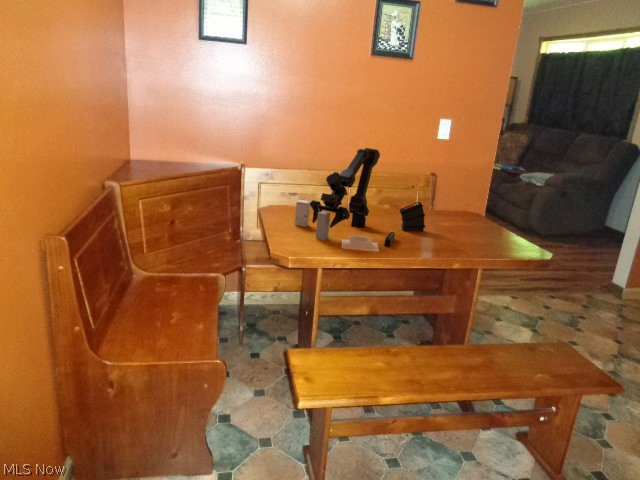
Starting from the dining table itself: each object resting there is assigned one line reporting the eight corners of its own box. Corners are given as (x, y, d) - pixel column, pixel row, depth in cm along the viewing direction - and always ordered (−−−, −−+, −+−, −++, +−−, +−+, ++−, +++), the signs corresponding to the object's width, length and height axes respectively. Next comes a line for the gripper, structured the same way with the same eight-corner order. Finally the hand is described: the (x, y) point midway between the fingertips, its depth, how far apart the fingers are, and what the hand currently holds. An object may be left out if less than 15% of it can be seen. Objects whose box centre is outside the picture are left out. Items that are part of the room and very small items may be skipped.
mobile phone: (391, 239, 203) (396, 230, 216) (384, 238, 204) (389, 229, 217) (389, 250, 204) (394, 240, 218) (383, 249, 205) (388, 239, 219)
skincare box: (294, 225, 228) (295, 201, 224) (297, 223, 232) (298, 199, 228) (305, 227, 226) (307, 203, 222) (308, 224, 230) (310, 201, 226)
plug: (315, 240, 208) (317, 212, 204) (320, 238, 211) (322, 211, 207) (323, 242, 206) (325, 214, 202) (327, 240, 209) (330, 212, 205)
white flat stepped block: (341, 250, 198) (342, 241, 197) (341, 241, 210) (342, 233, 208) (378, 253, 198) (379, 245, 197) (376, 244, 209) (377, 236, 208)
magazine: (430, 229, 234) (422, 202, 229) (405, 238, 235) (397, 212, 230) (428, 227, 238) (419, 201, 233) (404, 236, 238) (395, 210, 233)
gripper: (313, 182, 209) (297, 210, 203) (349, 190, 200) (333, 219, 194) (321, 197, 218) (306, 224, 212) (356, 205, 209) (341, 233, 203)
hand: (321, 225), depth 205 cm, fingers open, 9 cm apart
